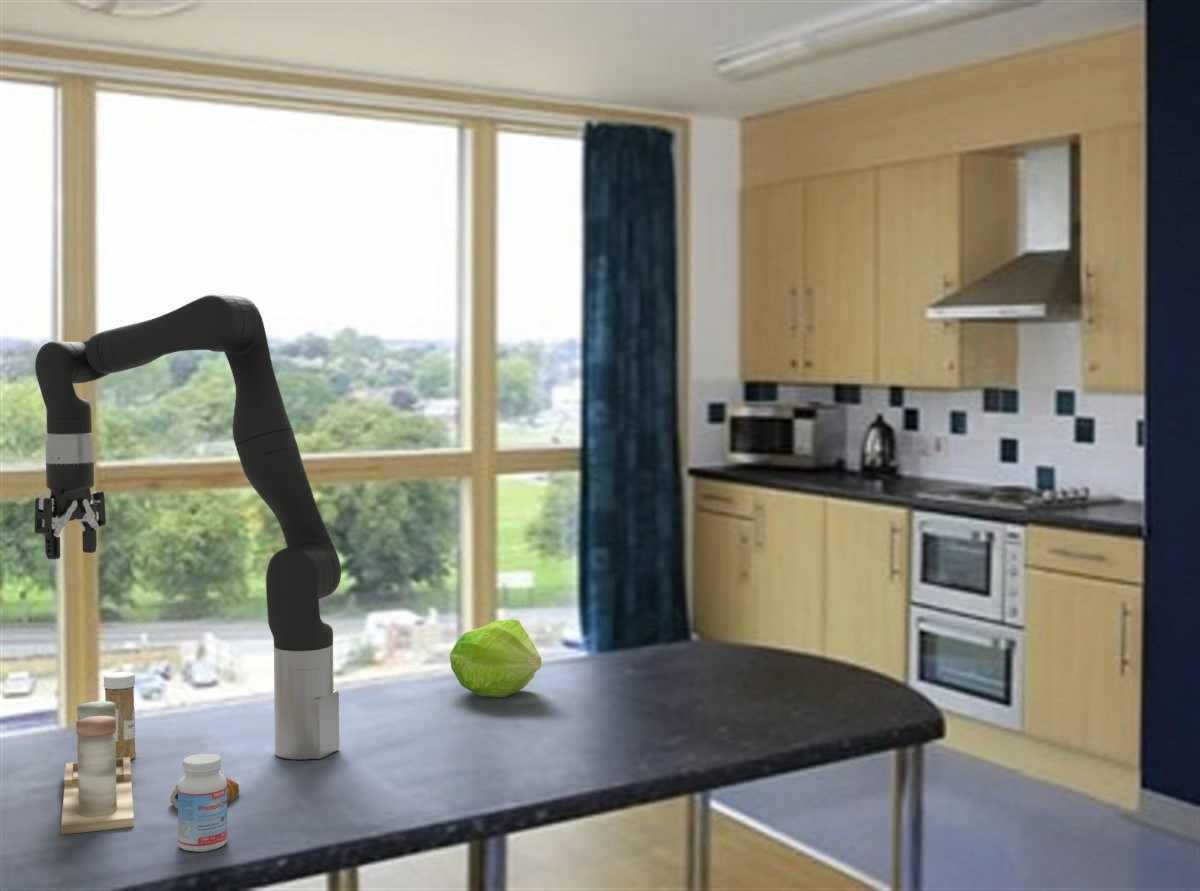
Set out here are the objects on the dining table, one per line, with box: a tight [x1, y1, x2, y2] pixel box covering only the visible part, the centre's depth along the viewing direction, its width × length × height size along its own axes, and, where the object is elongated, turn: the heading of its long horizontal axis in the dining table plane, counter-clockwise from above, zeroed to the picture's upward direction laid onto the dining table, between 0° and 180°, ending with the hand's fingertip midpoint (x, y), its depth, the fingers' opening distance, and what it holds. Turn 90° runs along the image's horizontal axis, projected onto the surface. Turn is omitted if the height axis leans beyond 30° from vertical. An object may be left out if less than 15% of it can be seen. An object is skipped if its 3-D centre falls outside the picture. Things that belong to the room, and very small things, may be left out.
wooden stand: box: [60, 700, 135, 835], centre depth 187 cm, size 26×9×14 cm, turn 21°
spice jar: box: [103, 671, 137, 761], centre depth 207 cm, size 5×5×14 cm
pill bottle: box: [177, 753, 228, 853], centre depth 170 cm, size 6×6×11 cm
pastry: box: [169, 777, 240, 809], centre depth 187 cm, size 9×7×4 cm
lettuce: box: [449, 618, 542, 698], centre depth 248 cm, size 15×20×14 cm
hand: (71, 555), depth 224 cm, fingers open, 8 cm apart
